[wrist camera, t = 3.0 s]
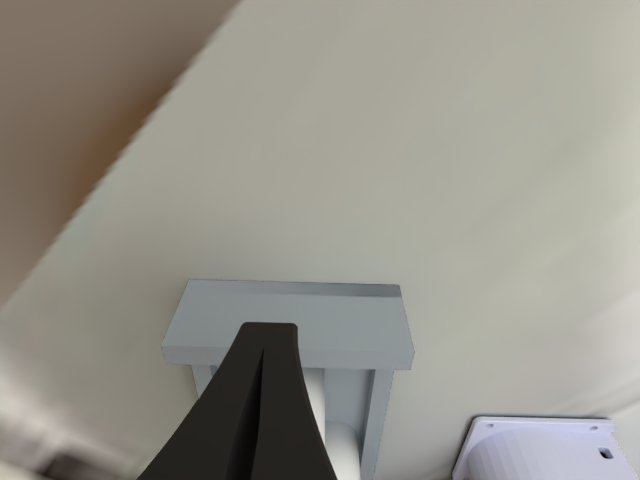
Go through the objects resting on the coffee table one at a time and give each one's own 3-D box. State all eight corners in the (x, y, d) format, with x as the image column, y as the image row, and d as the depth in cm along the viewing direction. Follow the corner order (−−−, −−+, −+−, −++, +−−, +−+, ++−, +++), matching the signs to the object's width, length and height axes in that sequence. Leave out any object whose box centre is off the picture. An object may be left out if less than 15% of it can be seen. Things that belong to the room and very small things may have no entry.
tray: (399, 284, 22) (421, 381, 17) (367, 465, 32) (376, 559, 27) (189, 279, 22) (148, 374, 17) (224, 462, 32) (205, 555, 27)
